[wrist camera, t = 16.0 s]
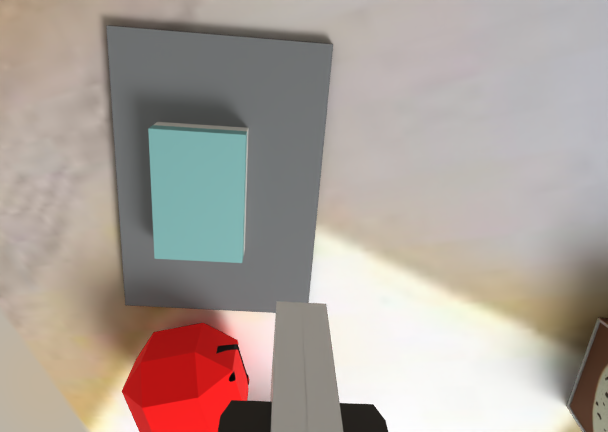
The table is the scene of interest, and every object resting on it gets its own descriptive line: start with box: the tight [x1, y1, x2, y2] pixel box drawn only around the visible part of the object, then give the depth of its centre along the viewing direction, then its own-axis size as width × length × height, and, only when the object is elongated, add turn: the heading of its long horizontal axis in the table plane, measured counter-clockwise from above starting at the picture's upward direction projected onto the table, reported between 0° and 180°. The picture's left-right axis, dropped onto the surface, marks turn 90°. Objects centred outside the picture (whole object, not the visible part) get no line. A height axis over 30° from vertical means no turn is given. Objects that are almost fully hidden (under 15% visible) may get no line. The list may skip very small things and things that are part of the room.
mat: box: [106, 26, 333, 313], centre depth 34 cm, size 20×14×1 cm
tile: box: [148, 122, 248, 263], centre depth 33 cm, size 9×2×6 cm
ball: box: [122, 323, 249, 432], centre depth 36 cm, size 8×8×8 cm
